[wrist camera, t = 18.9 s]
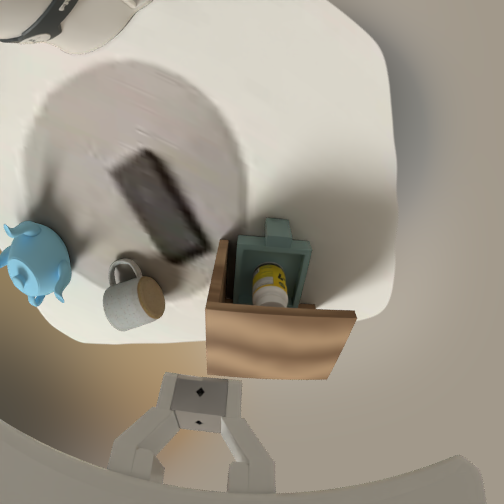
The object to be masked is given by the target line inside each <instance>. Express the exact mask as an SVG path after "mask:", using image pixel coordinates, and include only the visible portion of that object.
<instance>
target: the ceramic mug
mask: <svg viewBox="0 0 504 504" xmlns="http://www.w3.org/2000/svg"><path fill="white" fill-rule="evenodd" d="M122 263H123V264H129V265H130V266H131V267H132V268H133V270H134V272H135V275H136V277H137V278H134V279H131V280H128V281H125V282H122V283H118V284H116V282H115V276H114V271H115V267H116V266H117V265H119V264H122ZM109 283H110V287H109V288H108V289H107V290H106V291H105V293H104V296H103V307H104V311H105V314H106V317H107V319H108V321H109V322H110V324H111V325H112V326H113V327H114V328H116V329H117V330H119V331H127V330H130V329H133V328H136V327H139V326H142V325H144V324H148V323H151V322H153V321H155V320H157V319H159V318H160V317H161V316H162V315H163V313H164V310H165V300H164V295H163V292H162V290H161V288H160V286H159V285H158V284H157V282H156V281H155V280H153V279H152V278H150V277H147V276H142V274H141V270H140V268H139V267H138V265H137V264H136V263H135V262H134V261H133V260H131V259H127V258H123V259H119V260H117V261H115V262H113V263H112V264H111V266H110V269H109Z"/></svg>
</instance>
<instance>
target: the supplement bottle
mask: <svg viewBox="0 0 504 504" xmlns="http://www.w3.org/2000/svg"><path fill="white" fill-rule="evenodd" d="M252 301H253V305H255V306H269V307H284V308H287V304H288V293H287V285H286V278H285V272H284V270H283V268H282V267H281V266H280V265H279V264H277V263H275V262H264V263H261V264H259V265H258V266H257V267H256V268H255V269H254V272H253V291H252Z"/></svg>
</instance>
